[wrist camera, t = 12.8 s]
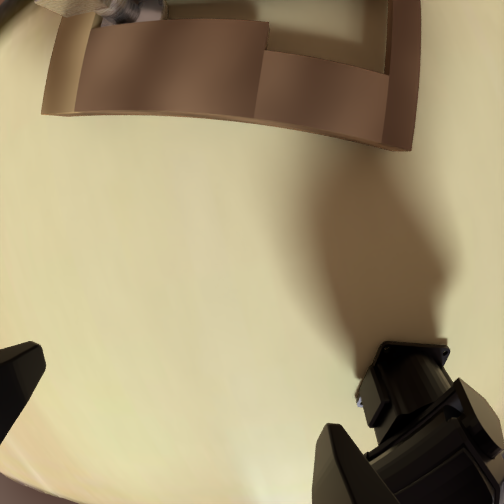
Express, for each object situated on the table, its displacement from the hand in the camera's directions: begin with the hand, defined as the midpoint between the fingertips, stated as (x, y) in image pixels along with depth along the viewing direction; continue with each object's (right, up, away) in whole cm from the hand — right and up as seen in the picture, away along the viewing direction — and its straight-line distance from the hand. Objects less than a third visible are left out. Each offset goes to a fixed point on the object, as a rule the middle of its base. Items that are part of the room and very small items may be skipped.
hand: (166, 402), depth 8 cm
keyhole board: (+1, +19, +7) cm, 20 cm away
